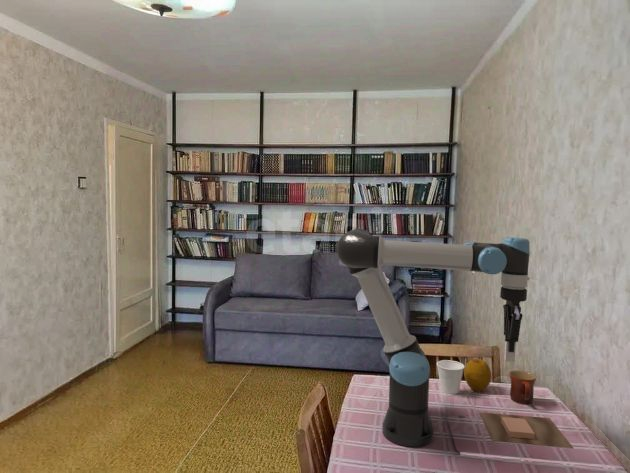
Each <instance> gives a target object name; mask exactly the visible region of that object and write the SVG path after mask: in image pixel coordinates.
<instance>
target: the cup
mask: <svg viewBox="0 0 630 473" xmlns="http://www.w3.org/2000/svg"><path fill="white" fill-rule="evenodd" d="M436 366H437V374H438V380H439V388H440V392H442V393H444V394H446V395H458V394H460V393H459V392H460V387H461V383H462V380H463V379H462V378H463V375H464V370H465V367H466V365H465V364H463V363H461V362H459V361H456V360H448V359H442V360H438V361H437V362H436Z"/></svg>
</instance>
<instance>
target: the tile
mask: <svg viewBox="0 0 630 473" xmlns="http://www.w3.org/2000/svg"><path fill="white" fill-rule="evenodd" d="M501 423H502V424H503V426H504V428H505V430H506V432H507V433H508V435H509V437H517V438H528V439H534V437H535V433H534V432H533V430H532V429H531V427H530V426H529V424H528V423H527V421H526V420H525V419H521V418H509V417H501Z"/></svg>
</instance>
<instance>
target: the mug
mask: <svg viewBox="0 0 630 473" xmlns="http://www.w3.org/2000/svg"><path fill="white" fill-rule="evenodd" d="M508 374H509V379H510V390H509V397H510V400H511V401H512V402H514V403H516V404H519V405H532V404H533V403H534V388H535V387H534V386H535V384H536V380H537V378H538V377H537V375H536V374H534V373H532V372H529V371H525V370H520V369H519V370H510V371H509V373H508Z"/></svg>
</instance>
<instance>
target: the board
mask: <svg viewBox="0 0 630 473" xmlns="http://www.w3.org/2000/svg"><path fill="white" fill-rule="evenodd" d="M478 414H479V416H480V419H481V420H482V423H483V425H484V426H485V427H484V428H485V429H486V431H487V433H488V434H489V437H490V439H491V441H492V442H499V443H508V444H509V443H510V444H519V445H520V444H521V445H531V446H543V447H553V448H565V449H574V446H572V444H571V443H570V442H569V441H568V439H567V438H566V436H565V435H564V434H563V433H562V432H561V431H560V429H559V427H558V426H557V425H556V424H555V422H554V421H553V420H552V419H551V418H550V417H541V416H531V415H530V416H529V415H528V416H527V415H517V414H515V415H514V414H505V413H493V412H481V411H479V412H478ZM501 417H509V418H521V419H525V420H526V421H527V423H528V424H529V426H530V427H531V429H532V430H533V432H534V433H535V437H534V439H528V438H517V437H509V435H508V433H507V432H506V430H505V428H504V426H503V424H502V423H501Z"/></svg>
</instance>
